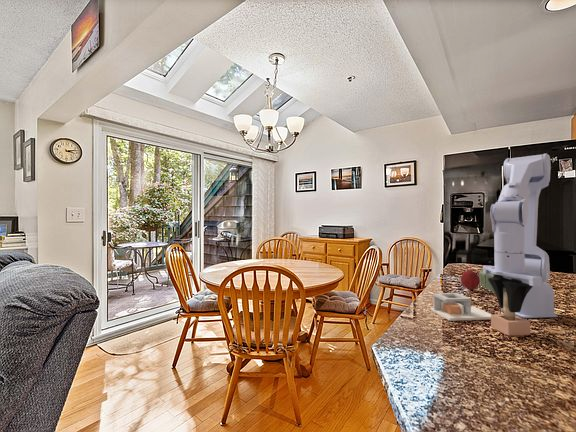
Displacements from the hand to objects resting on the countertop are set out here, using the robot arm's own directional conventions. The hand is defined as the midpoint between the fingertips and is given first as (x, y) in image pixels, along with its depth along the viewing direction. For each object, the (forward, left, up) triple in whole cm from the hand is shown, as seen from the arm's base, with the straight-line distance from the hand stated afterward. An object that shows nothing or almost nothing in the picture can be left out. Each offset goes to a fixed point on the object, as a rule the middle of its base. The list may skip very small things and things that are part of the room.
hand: (509, 309), depth 69 cm
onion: (-16, -36, -5) cm, 40 cm away
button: (+6, -12, -4) cm, 14 cm away
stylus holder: (0, 0, -5) cm, 5 cm away
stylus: (0, 0, -3) cm, 3 cm away
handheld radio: (-22, -29, -5) cm, 37 cm away
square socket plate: (+3, -12, -5) cm, 13 cm away
